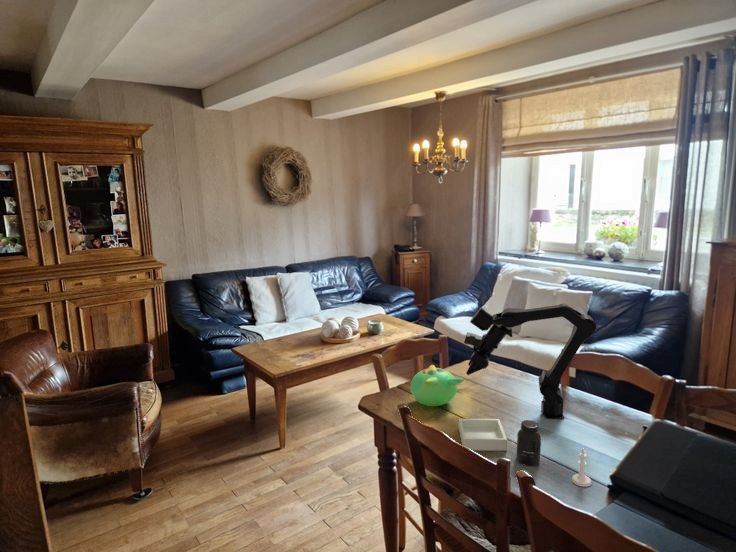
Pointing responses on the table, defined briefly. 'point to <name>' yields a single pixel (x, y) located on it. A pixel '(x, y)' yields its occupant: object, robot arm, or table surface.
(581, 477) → the chess piece
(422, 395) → the toy bird
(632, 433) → the table surface
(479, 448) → the tray
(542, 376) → the robot arm
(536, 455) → the supplement bottle
